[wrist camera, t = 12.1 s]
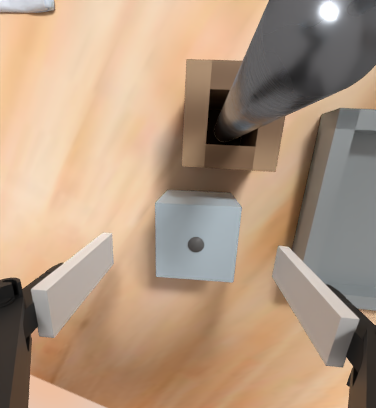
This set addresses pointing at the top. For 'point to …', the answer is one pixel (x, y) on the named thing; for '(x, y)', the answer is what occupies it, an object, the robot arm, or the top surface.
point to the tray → (342, 206)
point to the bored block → (214, 100)
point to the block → (197, 235)
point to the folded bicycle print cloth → (26, 6)
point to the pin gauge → (298, 61)
